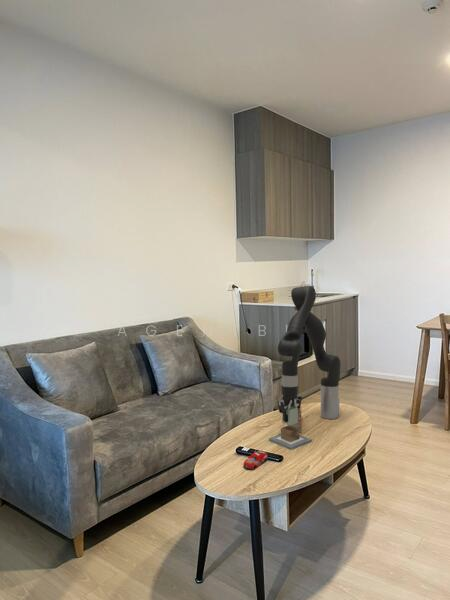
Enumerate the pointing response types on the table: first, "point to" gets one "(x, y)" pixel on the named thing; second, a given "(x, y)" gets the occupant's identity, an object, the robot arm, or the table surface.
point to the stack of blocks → (298, 420)
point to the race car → (255, 460)
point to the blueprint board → (290, 438)
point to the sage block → (292, 416)
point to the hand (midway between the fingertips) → (289, 420)
